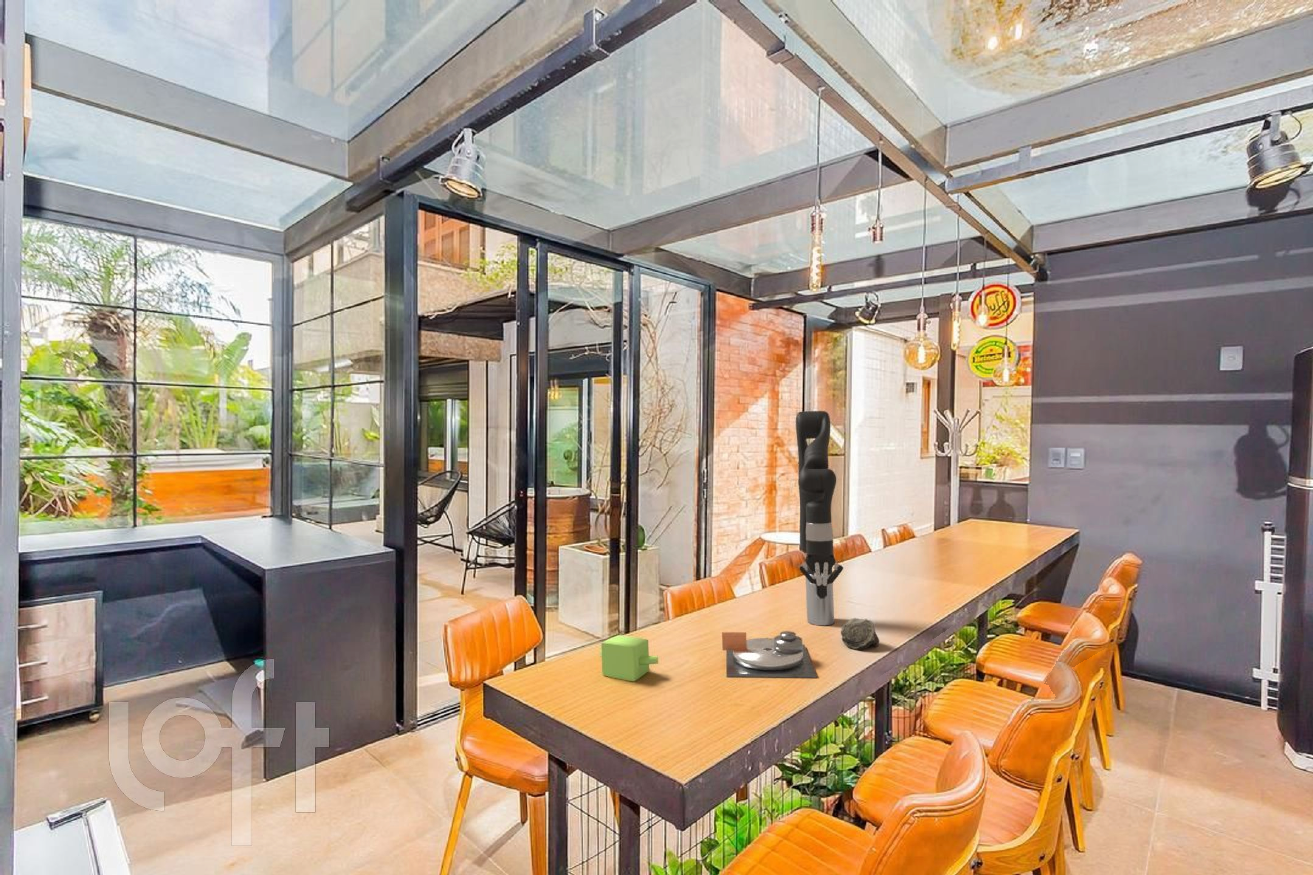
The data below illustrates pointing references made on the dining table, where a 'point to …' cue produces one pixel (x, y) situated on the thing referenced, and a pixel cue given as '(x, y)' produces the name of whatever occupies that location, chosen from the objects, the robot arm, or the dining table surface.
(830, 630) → the dining table surface
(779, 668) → the turntable
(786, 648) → the cover
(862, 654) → the dining table surface
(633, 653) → the gearbox
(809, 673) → the turntable base
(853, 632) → the fossil
